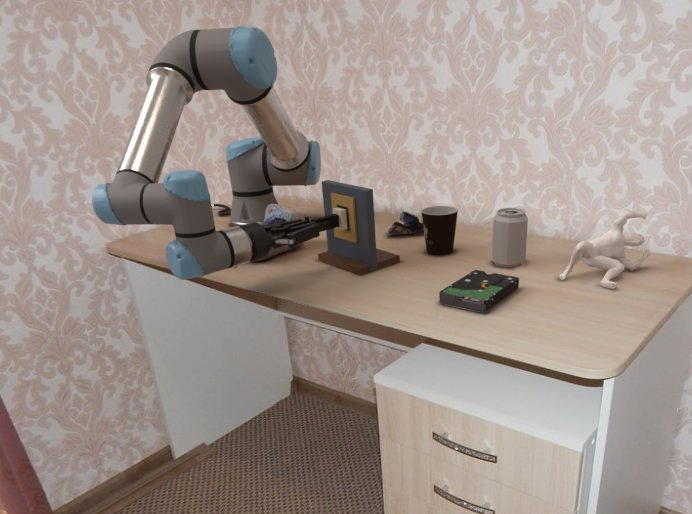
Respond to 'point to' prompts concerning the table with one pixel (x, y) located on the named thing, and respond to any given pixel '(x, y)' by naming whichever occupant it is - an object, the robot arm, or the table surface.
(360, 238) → the switch wall
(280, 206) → the cell model
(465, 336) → the table surface
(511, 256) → the can
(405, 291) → the table surface
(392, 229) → the snack package
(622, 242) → the person figurine
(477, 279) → the disk drive
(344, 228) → the switch paddle
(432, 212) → the coffee mug
